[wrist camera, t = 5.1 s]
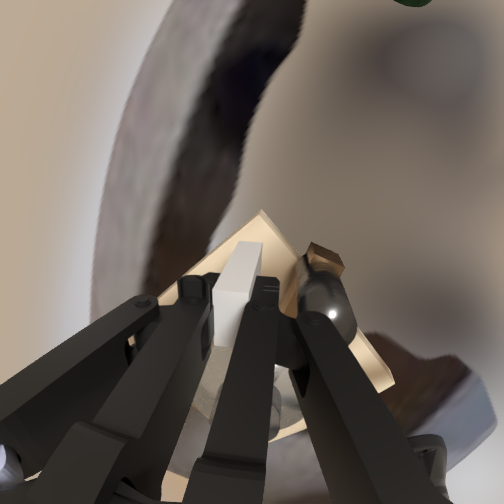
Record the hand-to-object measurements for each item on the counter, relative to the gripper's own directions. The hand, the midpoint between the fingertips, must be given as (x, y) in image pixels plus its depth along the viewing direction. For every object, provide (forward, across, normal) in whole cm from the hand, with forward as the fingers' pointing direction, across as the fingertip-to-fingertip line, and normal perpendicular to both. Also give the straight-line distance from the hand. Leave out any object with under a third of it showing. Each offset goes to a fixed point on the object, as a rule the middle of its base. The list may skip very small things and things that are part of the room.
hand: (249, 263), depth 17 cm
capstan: (+2, +2, -7) cm, 8 cm away
